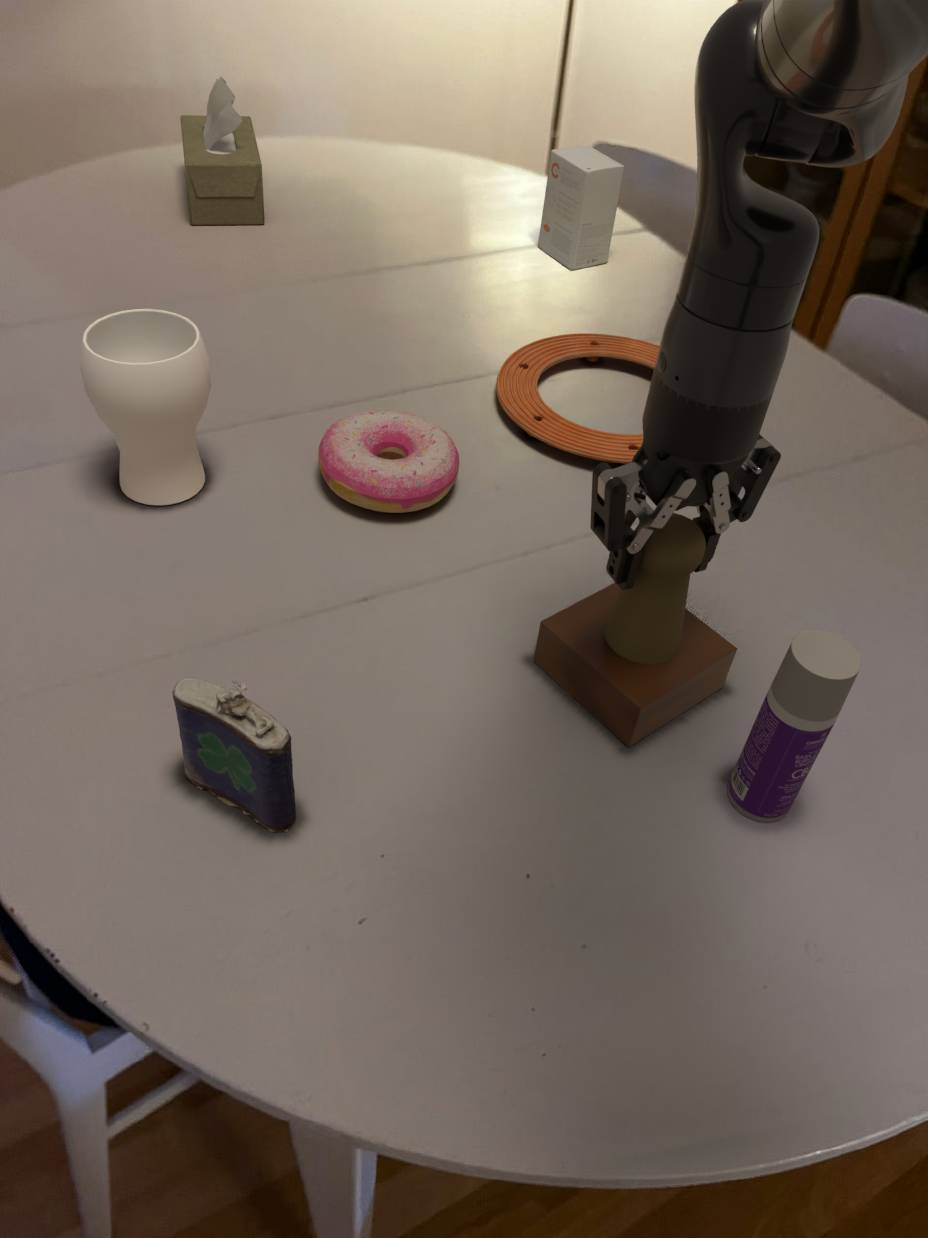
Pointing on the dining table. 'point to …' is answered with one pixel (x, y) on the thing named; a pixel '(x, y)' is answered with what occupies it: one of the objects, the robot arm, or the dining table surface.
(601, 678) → the walnut block
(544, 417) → the ring
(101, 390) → the cup
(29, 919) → the dining table surface
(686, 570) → the olive pawn
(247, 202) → the tissue box
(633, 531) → the robot arm
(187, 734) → the flask
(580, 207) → the small box
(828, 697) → the container
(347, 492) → the donut
